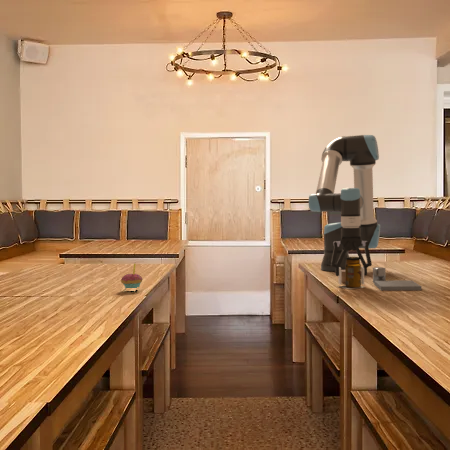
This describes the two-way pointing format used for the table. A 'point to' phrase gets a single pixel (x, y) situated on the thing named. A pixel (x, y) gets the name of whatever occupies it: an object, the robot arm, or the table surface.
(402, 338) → the table surface
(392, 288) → the board
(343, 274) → the walnut block
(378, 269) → the metal canister
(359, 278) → the condiment
